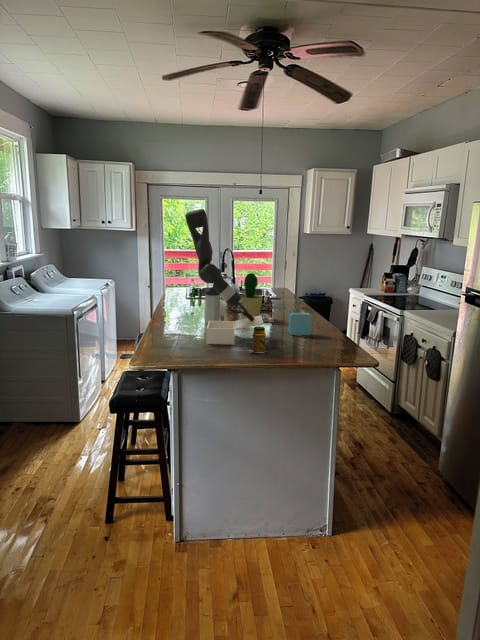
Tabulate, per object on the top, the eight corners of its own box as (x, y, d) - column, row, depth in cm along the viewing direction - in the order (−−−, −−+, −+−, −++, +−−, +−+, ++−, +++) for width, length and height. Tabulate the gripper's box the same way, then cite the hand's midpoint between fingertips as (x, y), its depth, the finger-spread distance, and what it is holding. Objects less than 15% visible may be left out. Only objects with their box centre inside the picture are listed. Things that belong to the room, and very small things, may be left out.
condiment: (267, 353, 212) (268, 329, 209) (250, 354, 210) (250, 329, 207) (263, 349, 219) (264, 325, 216) (246, 350, 217) (247, 326, 214)
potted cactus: (249, 322, 276) (250, 274, 269) (233, 318, 287) (233, 271, 280) (267, 319, 286) (268, 272, 279) (250, 315, 297) (251, 270, 290)
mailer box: (206, 343, 226) (206, 328, 224) (208, 335, 243) (208, 320, 242) (234, 344, 226) (234, 329, 224) (234, 335, 244) (234, 321, 242)
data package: (309, 333, 252) (310, 312, 249) (311, 335, 247) (312, 314, 245) (288, 333, 251) (289, 312, 248) (289, 335, 246) (290, 314, 244)
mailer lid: (263, 322, 224) (263, 324, 224) (261, 315, 242) (261, 316, 242) (235, 328, 224) (235, 329, 224) (235, 320, 242) (235, 321, 242)
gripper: (235, 292, 223) (258, 317, 225) (235, 289, 236) (257, 313, 238) (224, 303, 224) (247, 327, 226) (225, 298, 237) (247, 322, 239)
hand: (252, 320), depth 232 cm, fingers closed
